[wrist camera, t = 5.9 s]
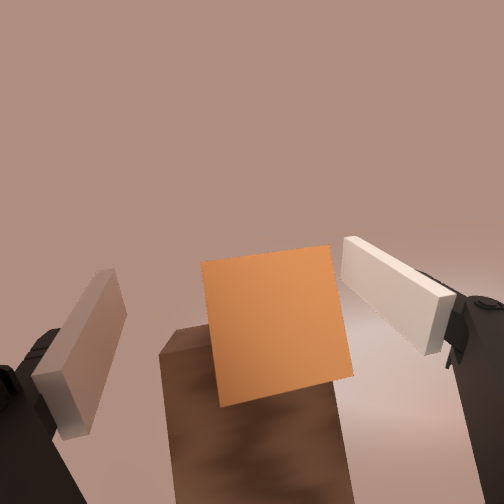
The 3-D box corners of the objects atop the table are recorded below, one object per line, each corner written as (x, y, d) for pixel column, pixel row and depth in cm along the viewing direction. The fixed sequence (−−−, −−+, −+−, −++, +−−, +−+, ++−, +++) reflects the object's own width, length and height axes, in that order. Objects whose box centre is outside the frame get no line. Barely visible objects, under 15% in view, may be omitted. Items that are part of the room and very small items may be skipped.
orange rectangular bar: (220, 407, 8) (200, 262, 8) (208, 320, 29) (203, 282, 29) (353, 375, 8) (328, 244, 9) (245, 313, 30) (240, 276, 30)
